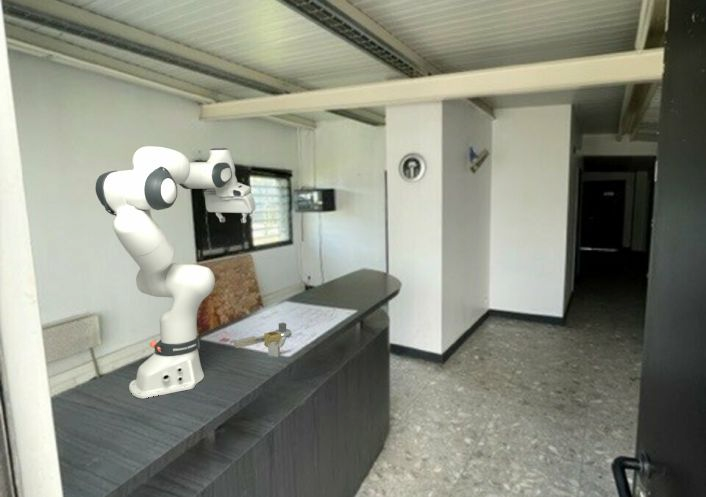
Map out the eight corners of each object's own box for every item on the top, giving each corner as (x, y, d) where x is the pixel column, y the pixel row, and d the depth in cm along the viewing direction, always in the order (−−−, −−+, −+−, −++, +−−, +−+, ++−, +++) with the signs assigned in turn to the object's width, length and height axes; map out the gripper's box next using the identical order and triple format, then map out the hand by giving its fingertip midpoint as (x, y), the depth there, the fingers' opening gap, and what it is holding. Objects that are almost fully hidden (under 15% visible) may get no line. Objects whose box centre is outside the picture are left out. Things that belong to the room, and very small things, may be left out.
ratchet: (239, 349, 170) (238, 336, 170) (232, 344, 176) (231, 331, 175) (293, 336, 186) (293, 323, 185) (285, 332, 191) (285, 320, 191)
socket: (270, 348, 171) (270, 336, 170) (264, 345, 175) (264, 333, 174) (281, 345, 174) (281, 334, 174) (275, 342, 178) (275, 330, 177)
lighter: (268, 355, 164) (267, 335, 163) (270, 354, 165) (269, 334, 164) (285, 357, 162) (284, 337, 161) (287, 356, 164) (286, 335, 162)
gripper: (199, 191, 168) (206, 224, 174) (246, 192, 163) (252, 225, 169) (207, 186, 173) (214, 218, 179) (254, 187, 169) (259, 220, 174)
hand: (233, 222), depth 174 cm, fingers open, 8 cm apart
